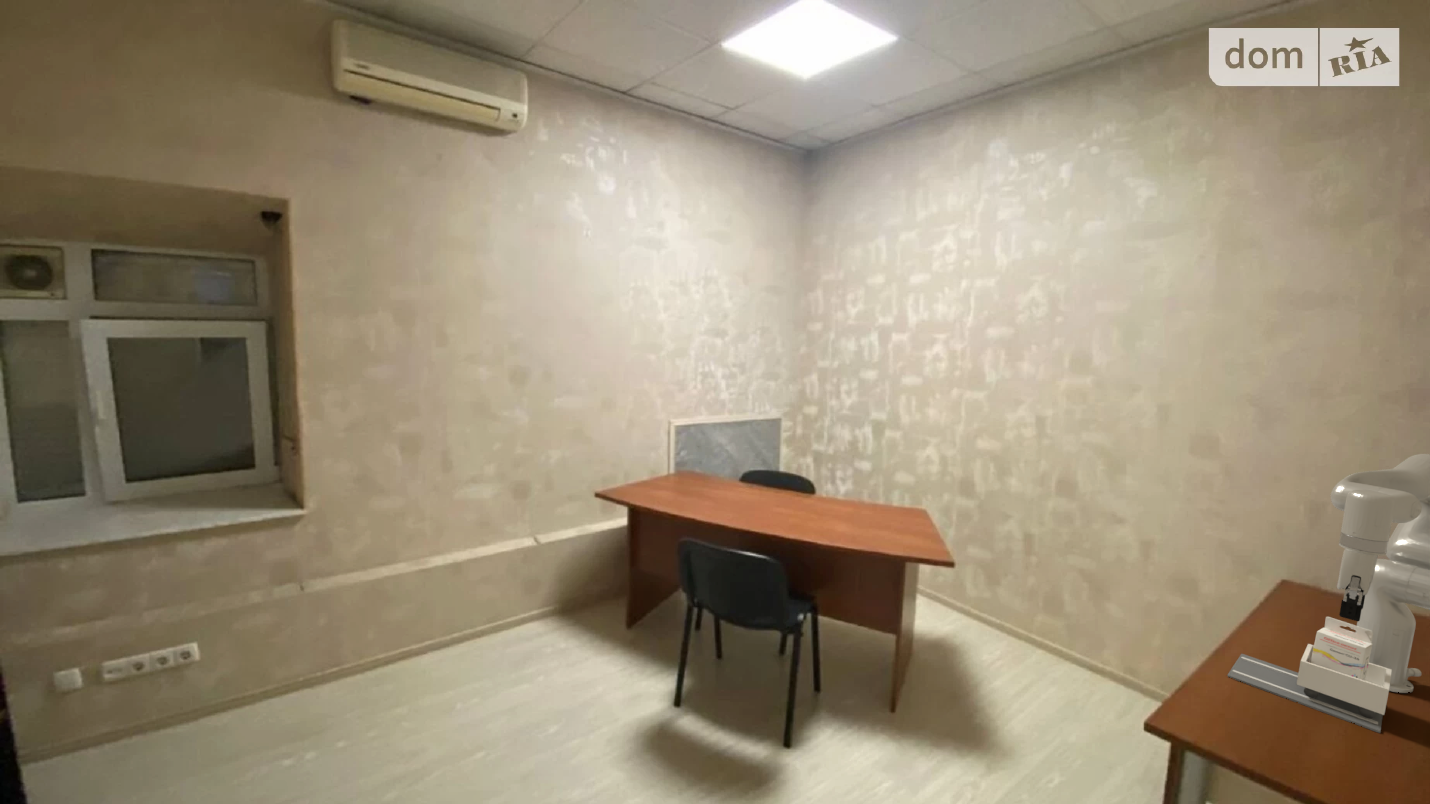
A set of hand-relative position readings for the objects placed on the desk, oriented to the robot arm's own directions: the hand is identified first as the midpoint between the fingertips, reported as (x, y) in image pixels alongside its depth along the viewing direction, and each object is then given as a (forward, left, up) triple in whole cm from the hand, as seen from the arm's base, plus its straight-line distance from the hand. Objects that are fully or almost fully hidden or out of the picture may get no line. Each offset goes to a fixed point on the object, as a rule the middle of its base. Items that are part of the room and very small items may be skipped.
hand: (1351, 612), depth 138 cm
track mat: (+4, -4, -22) cm, 23 cm away
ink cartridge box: (+1, 0, -18) cm, 18 cm away
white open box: (0, +1, -21) cm, 21 cm away
